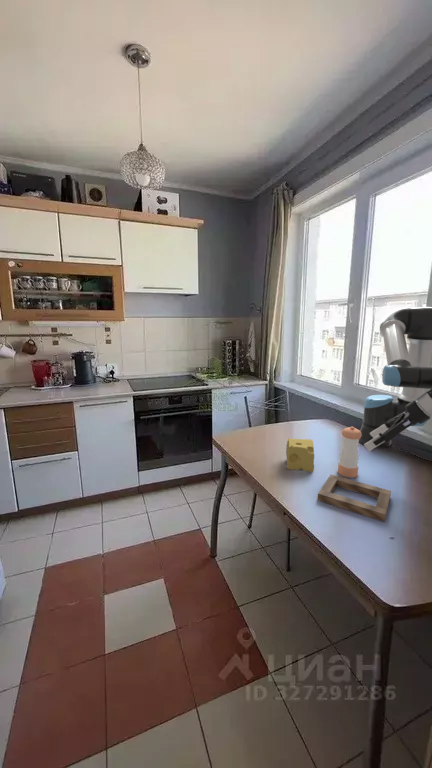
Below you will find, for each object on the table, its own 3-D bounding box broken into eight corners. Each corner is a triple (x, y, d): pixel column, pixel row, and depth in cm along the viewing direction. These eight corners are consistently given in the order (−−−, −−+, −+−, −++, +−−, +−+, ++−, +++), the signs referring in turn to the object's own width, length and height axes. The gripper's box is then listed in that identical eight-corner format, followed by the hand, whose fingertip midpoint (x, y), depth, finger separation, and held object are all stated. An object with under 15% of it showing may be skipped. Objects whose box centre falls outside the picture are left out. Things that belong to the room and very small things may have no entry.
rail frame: (390, 497, 107) (391, 490, 107) (384, 521, 94) (385, 514, 94) (330, 480, 118) (330, 474, 118) (317, 500, 105) (317, 493, 105)
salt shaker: (356, 479, 119) (361, 431, 115) (335, 474, 123) (340, 427, 119) (359, 471, 125) (364, 425, 121) (339, 467, 129) (344, 422, 125)
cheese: (313, 472, 124) (315, 448, 122) (285, 469, 126) (287, 446, 124) (311, 461, 134) (313, 439, 132) (285, 458, 136) (286, 437, 134)
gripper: (432, 427, 94) (371, 462, 105) (431, 409, 115) (380, 439, 126) (413, 408, 96) (356, 444, 107) (415, 392, 117) (367, 424, 128)
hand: (369, 441), depth 116 cm, fingers open, 13 cm apart
